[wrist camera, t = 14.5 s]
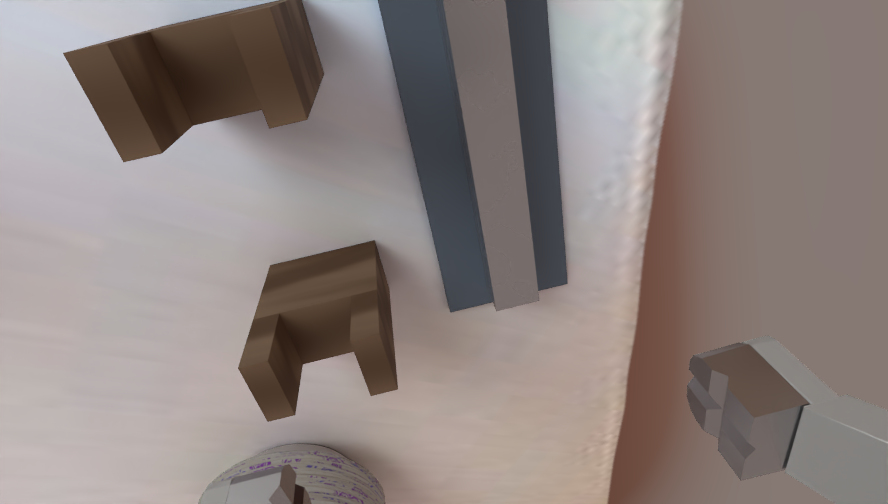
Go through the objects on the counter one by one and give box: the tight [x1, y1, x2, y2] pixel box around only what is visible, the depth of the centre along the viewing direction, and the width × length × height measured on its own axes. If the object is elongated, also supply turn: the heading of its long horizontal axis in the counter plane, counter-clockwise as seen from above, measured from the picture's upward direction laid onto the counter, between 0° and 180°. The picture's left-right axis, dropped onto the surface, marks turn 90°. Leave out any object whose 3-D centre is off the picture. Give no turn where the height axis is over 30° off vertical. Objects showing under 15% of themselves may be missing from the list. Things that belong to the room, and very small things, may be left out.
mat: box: [378, 0, 567, 312], centre depth 31 cm, size 25×9×1 cm, turn 11°
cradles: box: [63, 0, 398, 422], centre depth 26 cm, size 19×7×10 cm, turn 11°
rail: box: [435, 0, 539, 311], centre depth 29 cm, size 22×3×3 cm, turn 11°
